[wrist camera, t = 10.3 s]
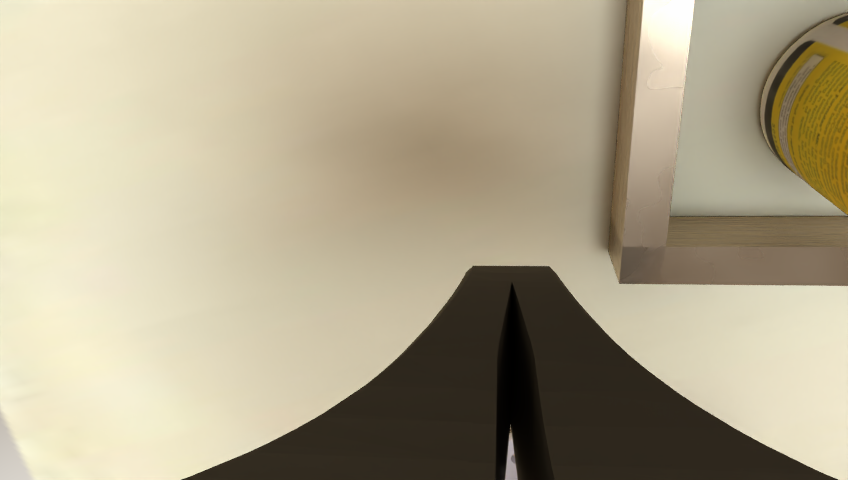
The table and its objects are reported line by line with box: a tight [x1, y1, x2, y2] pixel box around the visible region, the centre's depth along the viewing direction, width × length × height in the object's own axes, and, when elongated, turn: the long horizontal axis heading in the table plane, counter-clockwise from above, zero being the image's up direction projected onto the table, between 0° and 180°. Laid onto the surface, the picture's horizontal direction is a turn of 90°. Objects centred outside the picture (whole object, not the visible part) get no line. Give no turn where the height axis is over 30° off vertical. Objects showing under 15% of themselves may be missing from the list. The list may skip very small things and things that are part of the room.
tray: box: [608, 0, 848, 286], centre depth 18 cm, size 9×9×2 cm
